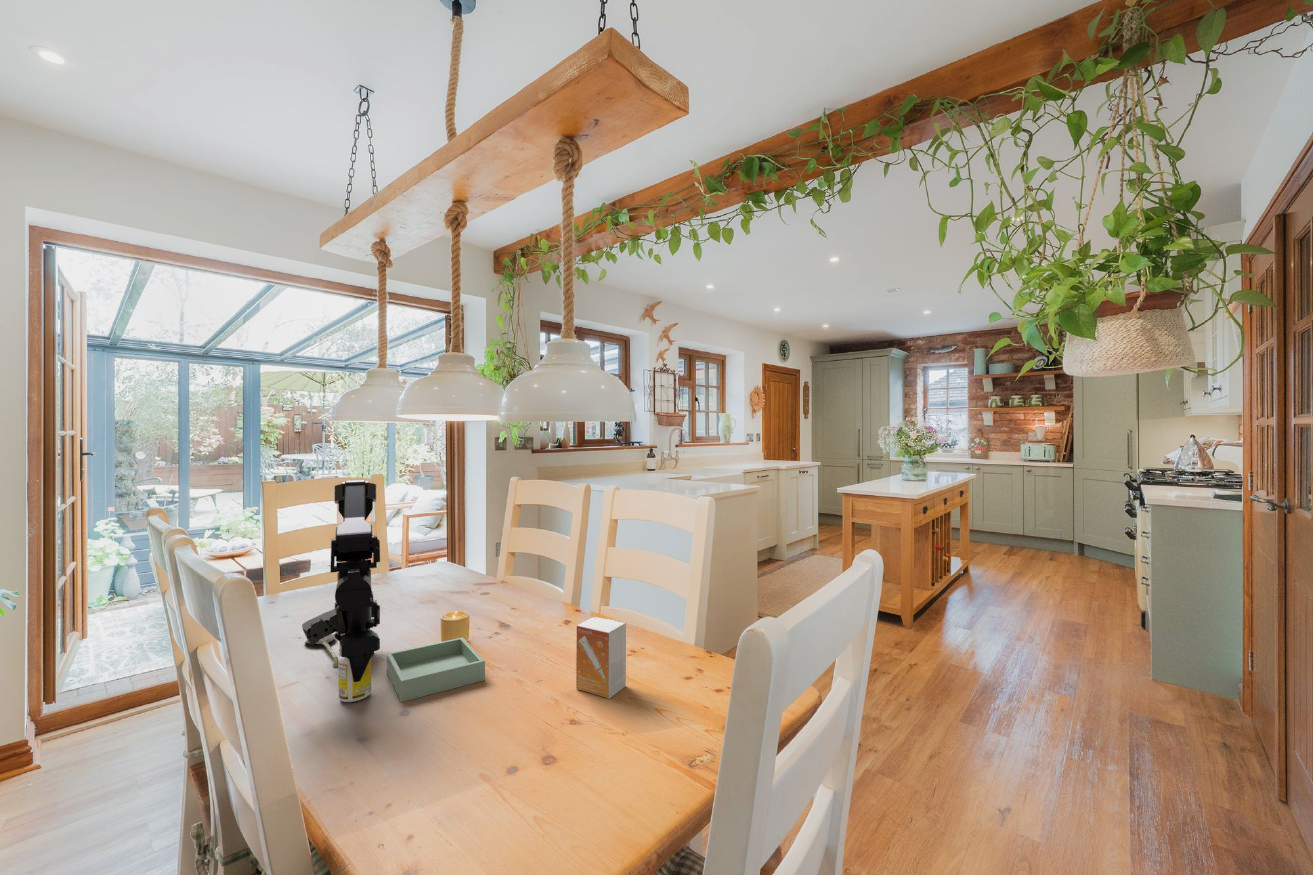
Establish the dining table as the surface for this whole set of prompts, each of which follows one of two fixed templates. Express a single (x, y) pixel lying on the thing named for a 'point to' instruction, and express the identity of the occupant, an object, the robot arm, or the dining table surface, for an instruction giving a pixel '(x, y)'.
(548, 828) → the dining table surface
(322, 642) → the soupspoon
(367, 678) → the supplement bottle
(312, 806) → the dining table surface
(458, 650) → the open box
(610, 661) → the small box
